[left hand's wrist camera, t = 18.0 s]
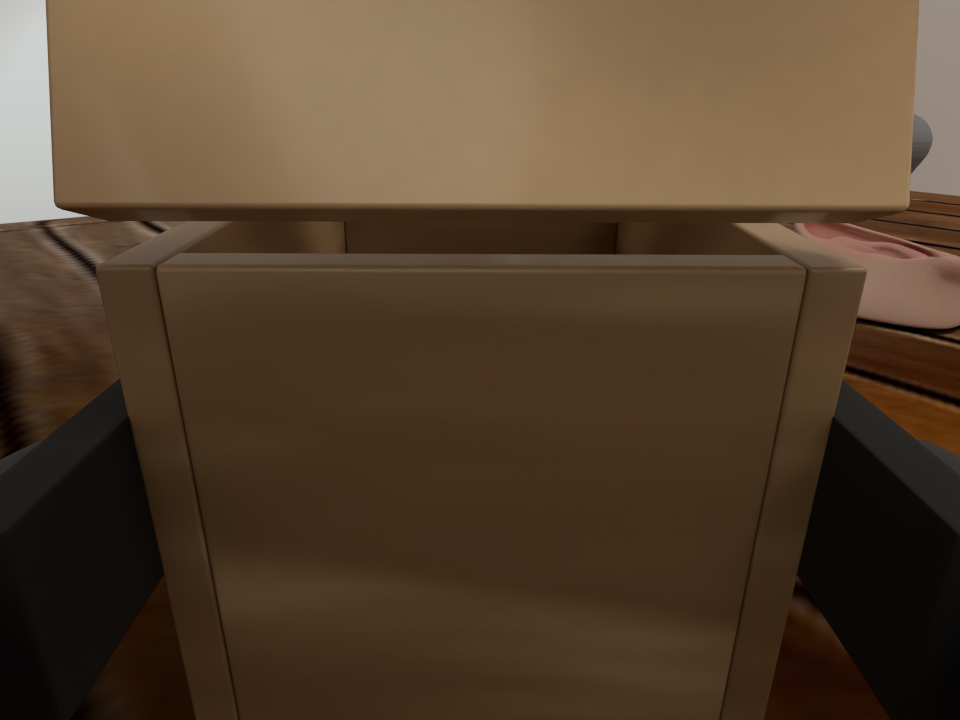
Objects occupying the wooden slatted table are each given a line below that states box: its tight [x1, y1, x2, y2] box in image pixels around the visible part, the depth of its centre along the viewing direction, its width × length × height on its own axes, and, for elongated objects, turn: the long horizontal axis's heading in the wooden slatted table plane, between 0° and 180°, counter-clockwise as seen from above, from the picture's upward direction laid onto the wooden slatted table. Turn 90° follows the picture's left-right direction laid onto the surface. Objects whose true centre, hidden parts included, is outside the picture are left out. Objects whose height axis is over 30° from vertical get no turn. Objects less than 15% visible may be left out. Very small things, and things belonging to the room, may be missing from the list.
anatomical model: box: [794, 223, 960, 329], centre depth 43 cm, size 13×4×12 cm
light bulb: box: [911, 115, 932, 173], centre depth 71 cm, size 6×6×10 cm
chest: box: [96, 221, 867, 720], centre depth 16 cm, size 13×10×11 cm
